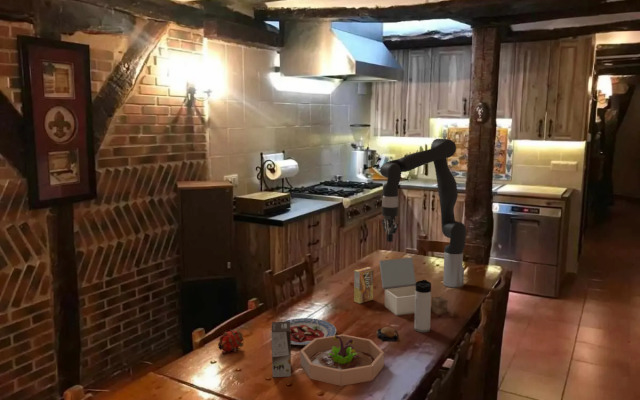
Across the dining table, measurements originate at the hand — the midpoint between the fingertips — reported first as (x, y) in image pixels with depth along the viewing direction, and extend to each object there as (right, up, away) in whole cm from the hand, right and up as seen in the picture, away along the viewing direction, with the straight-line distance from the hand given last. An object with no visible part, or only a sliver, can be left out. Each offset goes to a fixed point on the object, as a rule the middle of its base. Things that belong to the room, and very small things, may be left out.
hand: (389, 241), depth 252 cm
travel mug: (+9, -33, -35) cm, 49 cm away
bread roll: (-6, -35, -41) cm, 55 cm away
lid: (+3, -14, -7) cm, 16 cm away
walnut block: (+20, -30, -16) cm, 39 cm away
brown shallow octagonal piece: (-25, -38, -66) cm, 80 cm away
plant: (-25, -39, -66) cm, 81 cm away
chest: (+6, -29, -12) cm, 32 cm away
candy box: (-12, -28, -2) cm, 31 cm away
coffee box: (-46, -39, -70) cm, 92 cm away
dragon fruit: (-66, -37, -54) cm, 93 cm away
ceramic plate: (-39, -35, -40) cm, 66 cm away
